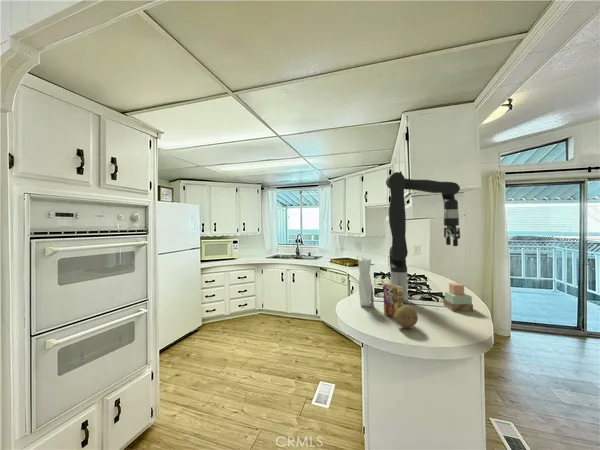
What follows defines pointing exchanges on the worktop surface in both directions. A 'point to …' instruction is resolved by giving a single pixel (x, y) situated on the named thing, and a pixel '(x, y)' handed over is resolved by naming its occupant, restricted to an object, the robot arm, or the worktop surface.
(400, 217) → the robot arm
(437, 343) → the worktop surface
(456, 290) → the terracotta block
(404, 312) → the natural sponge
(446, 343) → the worktop surface
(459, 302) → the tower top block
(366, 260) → the skyscraper
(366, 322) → the worktop surface
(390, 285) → the candy box
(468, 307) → the tower base block
